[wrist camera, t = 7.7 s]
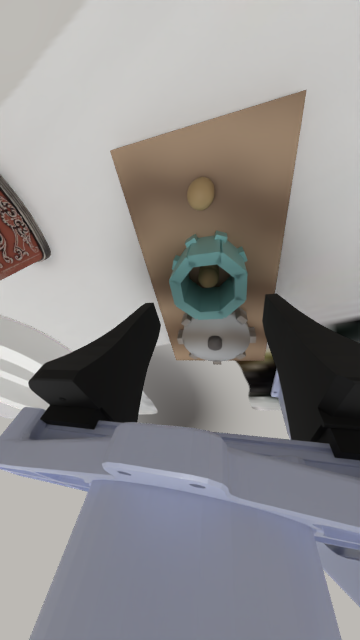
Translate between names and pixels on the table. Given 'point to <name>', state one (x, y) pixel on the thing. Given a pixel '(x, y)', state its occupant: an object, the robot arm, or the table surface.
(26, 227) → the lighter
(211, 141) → the board
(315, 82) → the table surface
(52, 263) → the table surface
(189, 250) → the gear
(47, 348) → the ring with crossbar
